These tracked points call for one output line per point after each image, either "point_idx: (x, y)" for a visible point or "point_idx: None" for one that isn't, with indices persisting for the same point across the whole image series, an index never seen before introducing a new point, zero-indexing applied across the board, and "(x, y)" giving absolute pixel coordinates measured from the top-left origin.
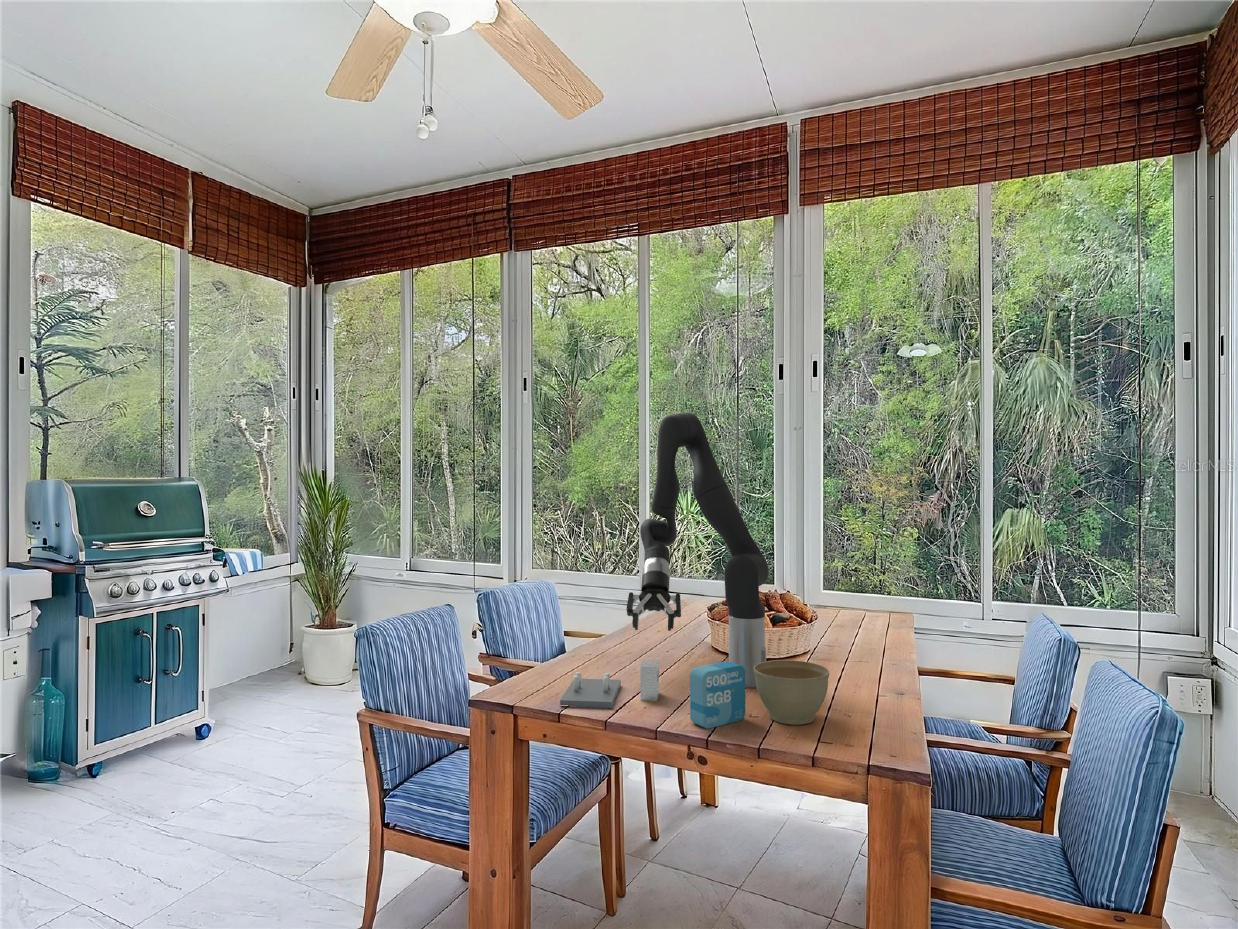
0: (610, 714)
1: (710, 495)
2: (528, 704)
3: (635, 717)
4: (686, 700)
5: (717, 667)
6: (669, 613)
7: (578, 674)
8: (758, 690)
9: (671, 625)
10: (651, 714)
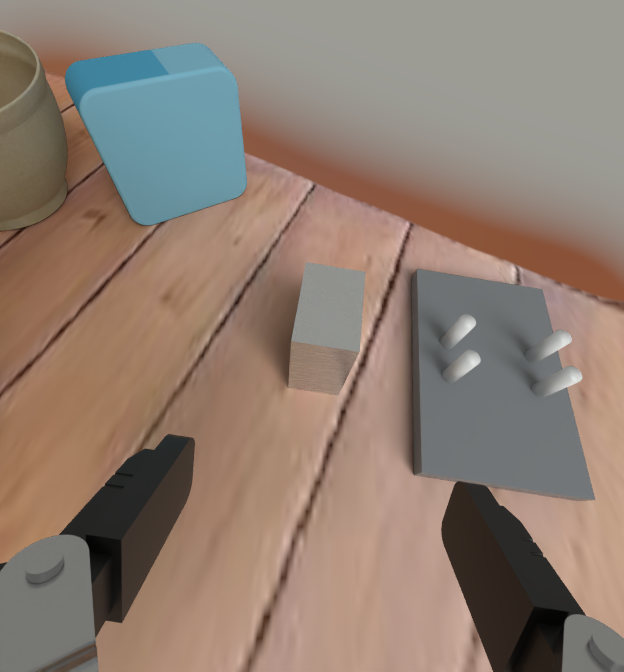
0: (408, 250)
1: None
2: (610, 319)
3: (355, 231)
4: (218, 321)
5: (156, 56)
6: (88, 571)
7: (567, 367)
8: (60, 135)
9: (153, 450)
10: (320, 243)
